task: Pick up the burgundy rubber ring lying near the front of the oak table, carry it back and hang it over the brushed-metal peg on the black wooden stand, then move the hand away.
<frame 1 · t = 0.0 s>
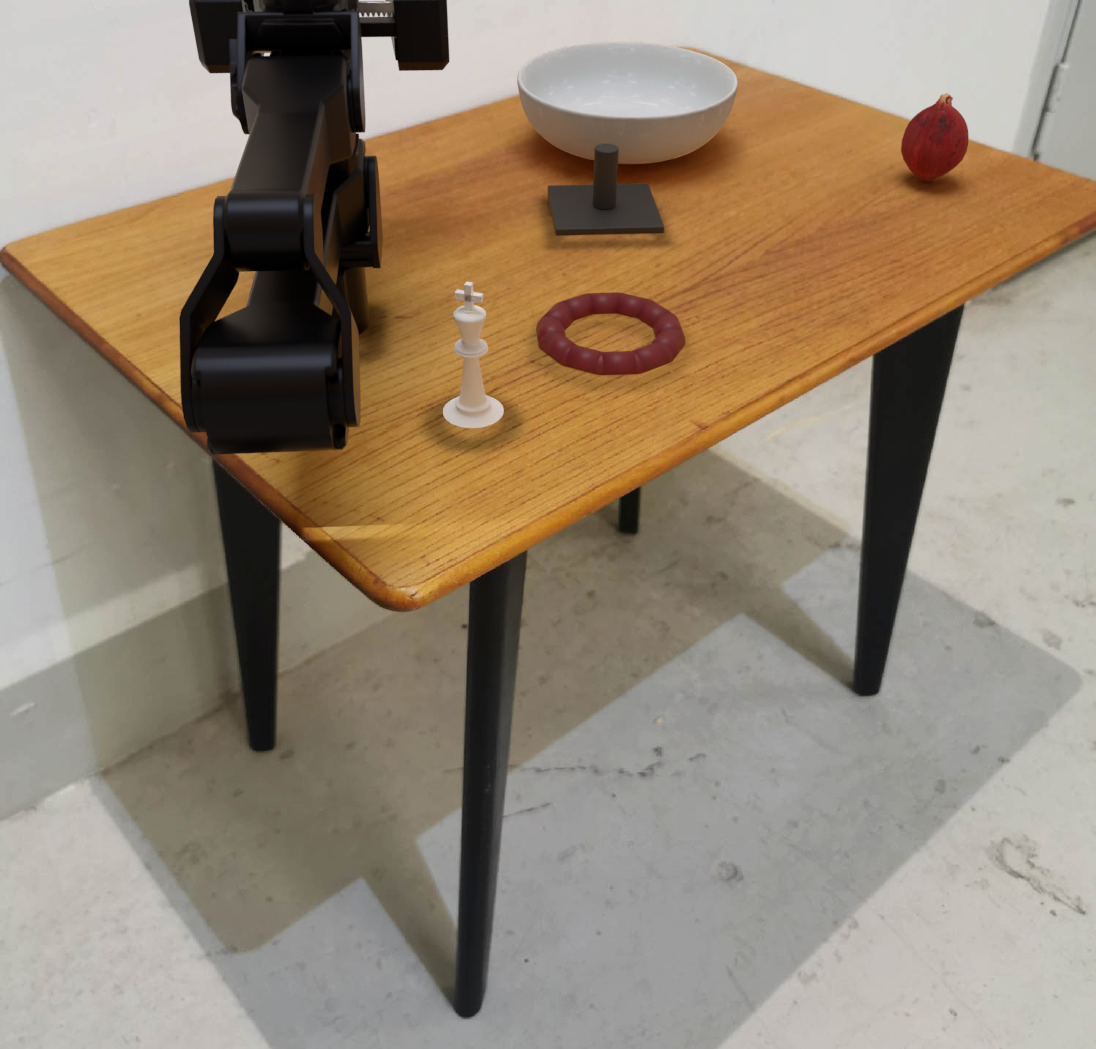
chess piece: (473, 425, 73), on the table
onion: (925, 184, 105), on the table
post: (603, 221, 97), on the table
serving bowl: (623, 148, 110), on the table
ring: (610, 335, 80), point 1 cm above the table
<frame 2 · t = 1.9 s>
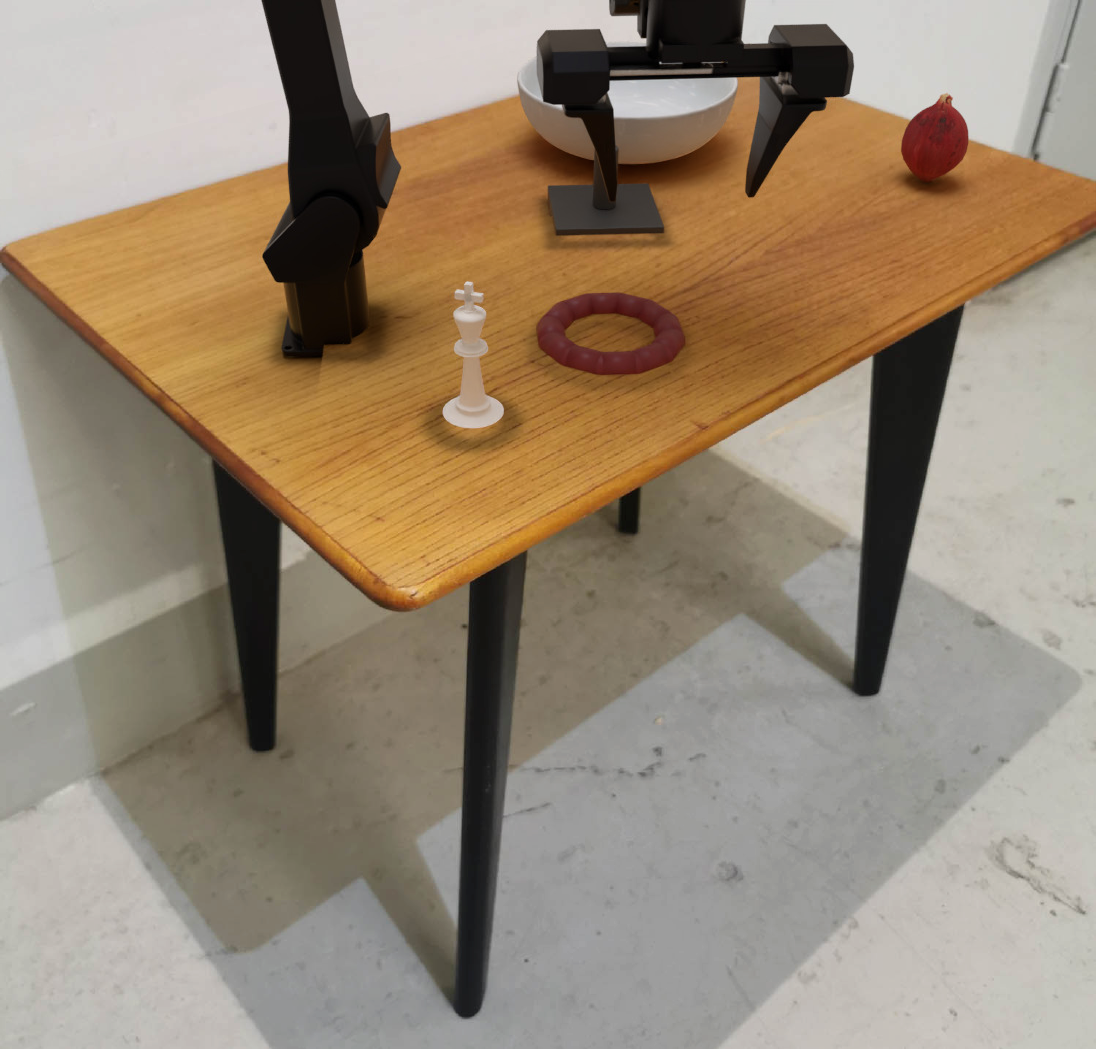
hand: (680, 197, 74), 11 cm above the table, tool pointing down, fingers open, 9 cm apart
nothing on the table moved.
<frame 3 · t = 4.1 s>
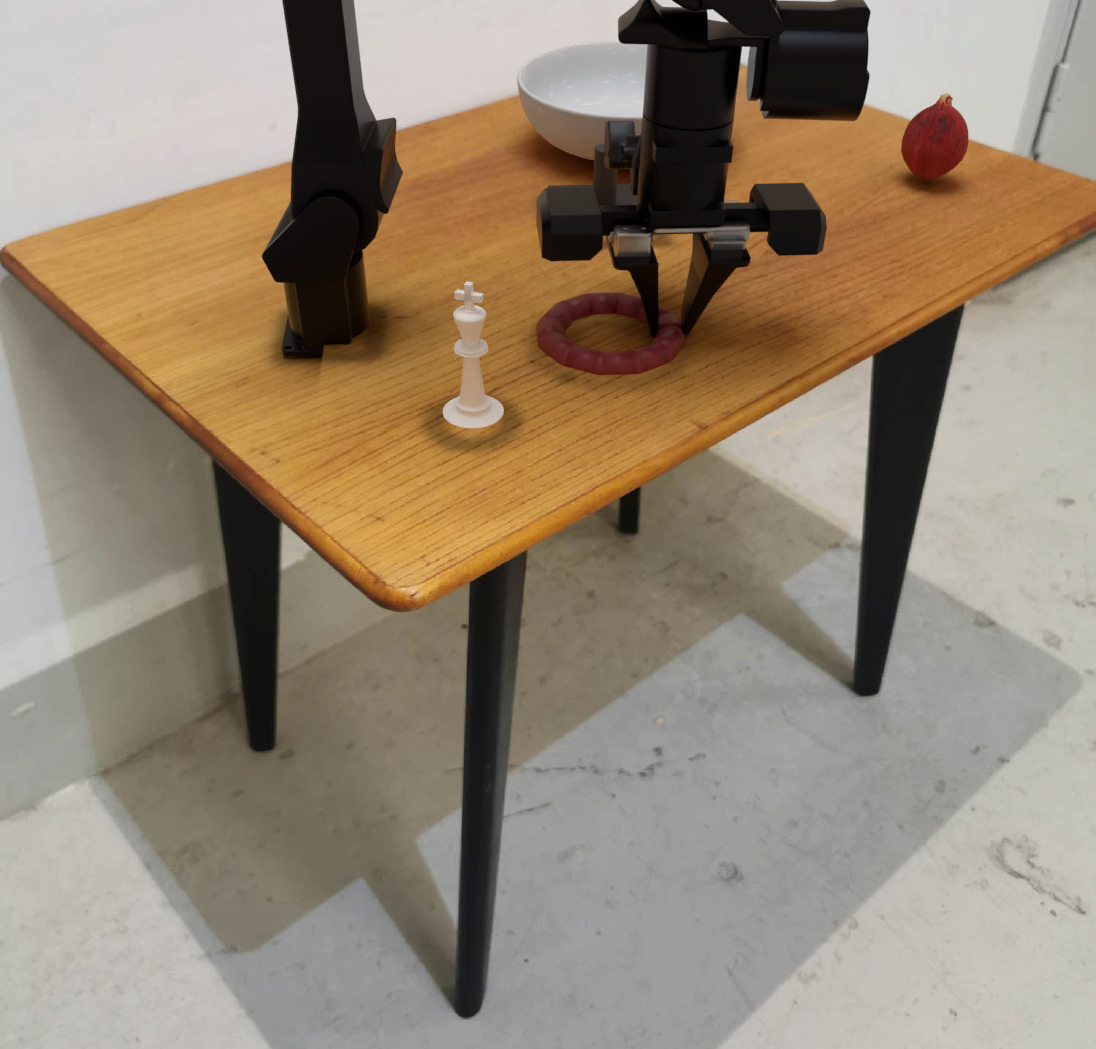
hand: (668, 333, 80), 1 cm above the table, tool pointing down, fingers closed on ring, 2 cm apart
ring: (610, 335, 80), point 1 cm above the table, touching gripper
everything else where it was.
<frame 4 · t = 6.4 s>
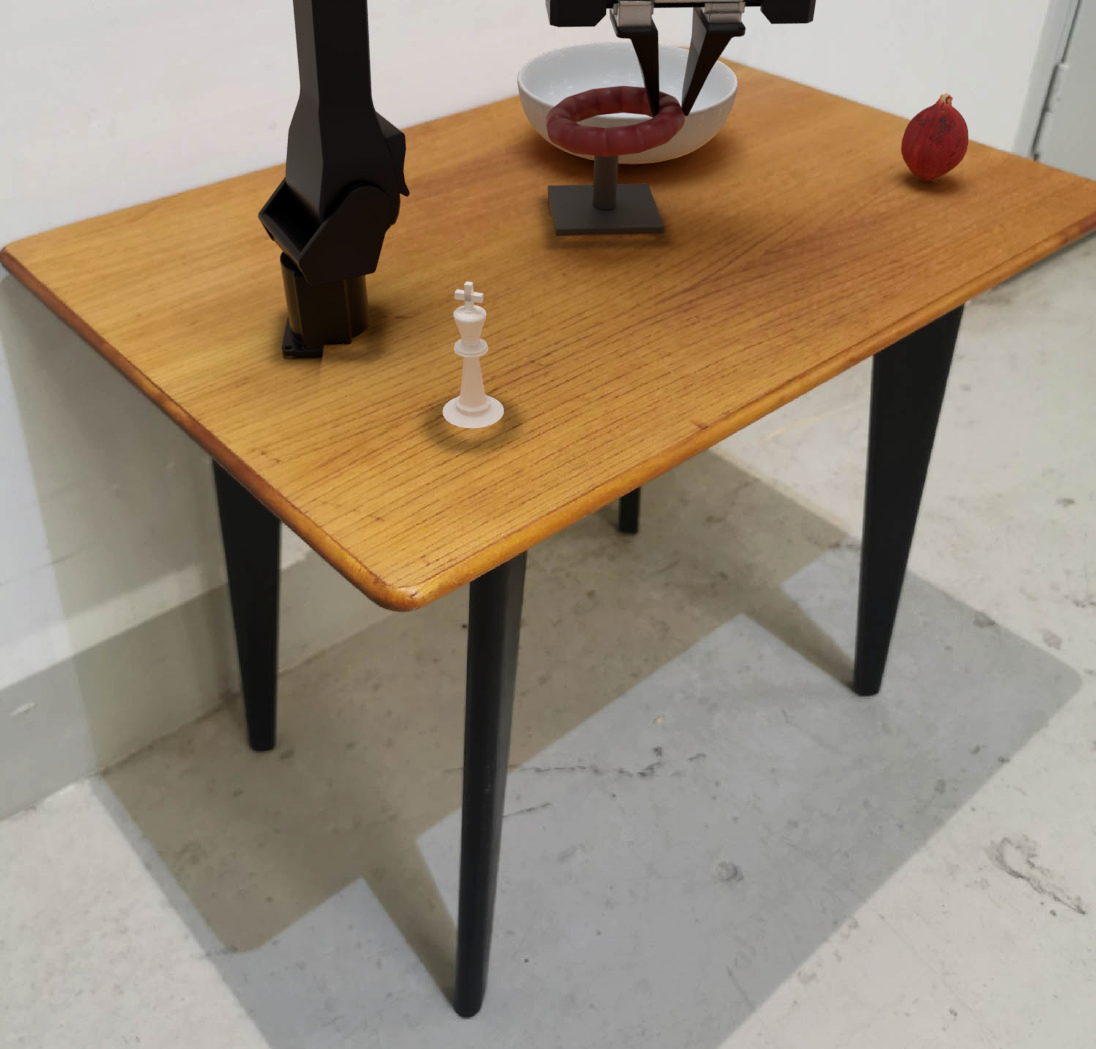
hand: (669, 114, 86), 11 cm above the table, tool pointing down, fingers closed on ring
ring: (614, 120, 86), point 11 cm above the table, tilted 6°, touching gripper
everything else where it was.
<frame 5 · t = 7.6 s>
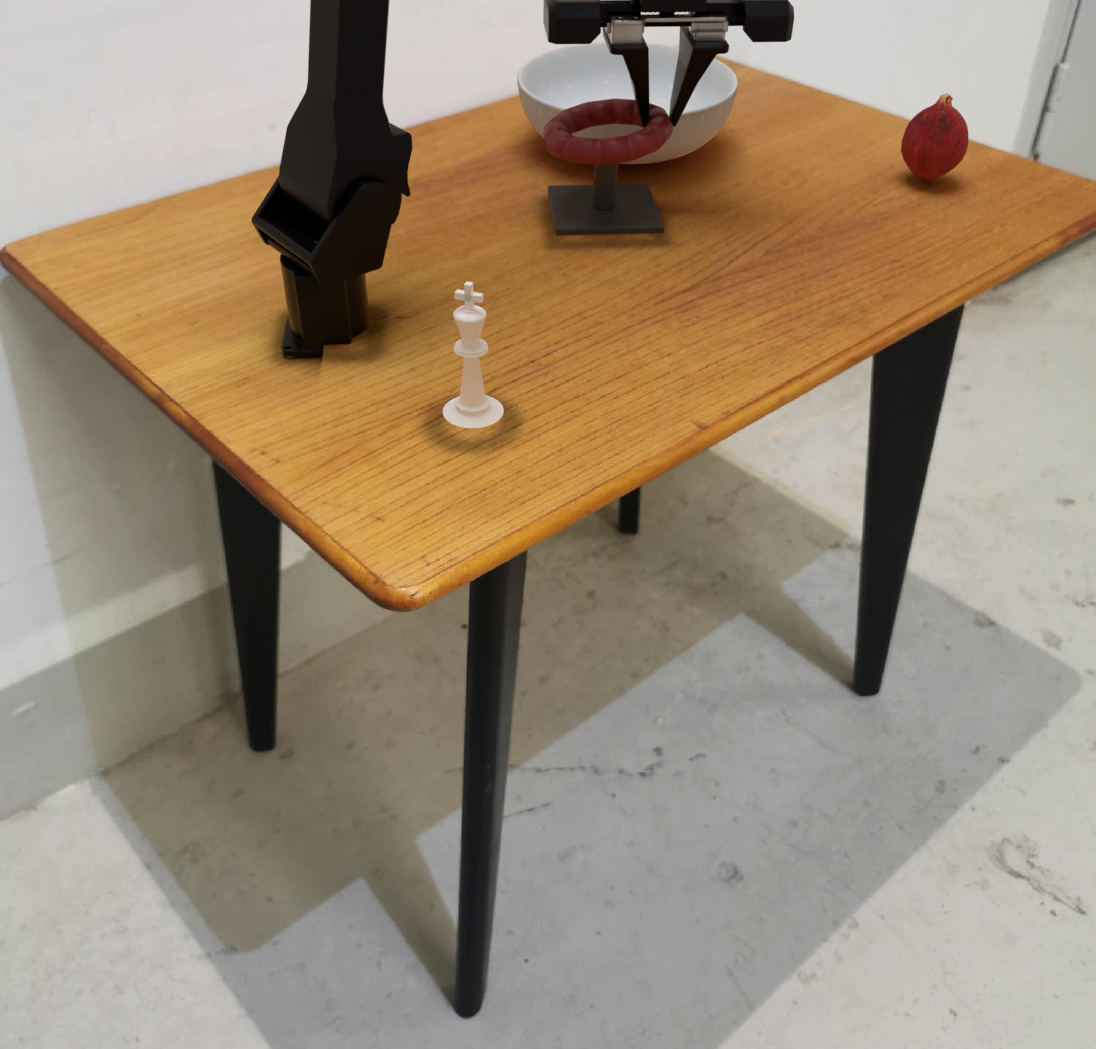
hand: (658, 125, 92), 8 cm above the table, tool pointing down, fingers closed on ring
ring: (607, 130, 92), point 8 cm above the table, tilted 7°, touching gripper
everything else where it was.
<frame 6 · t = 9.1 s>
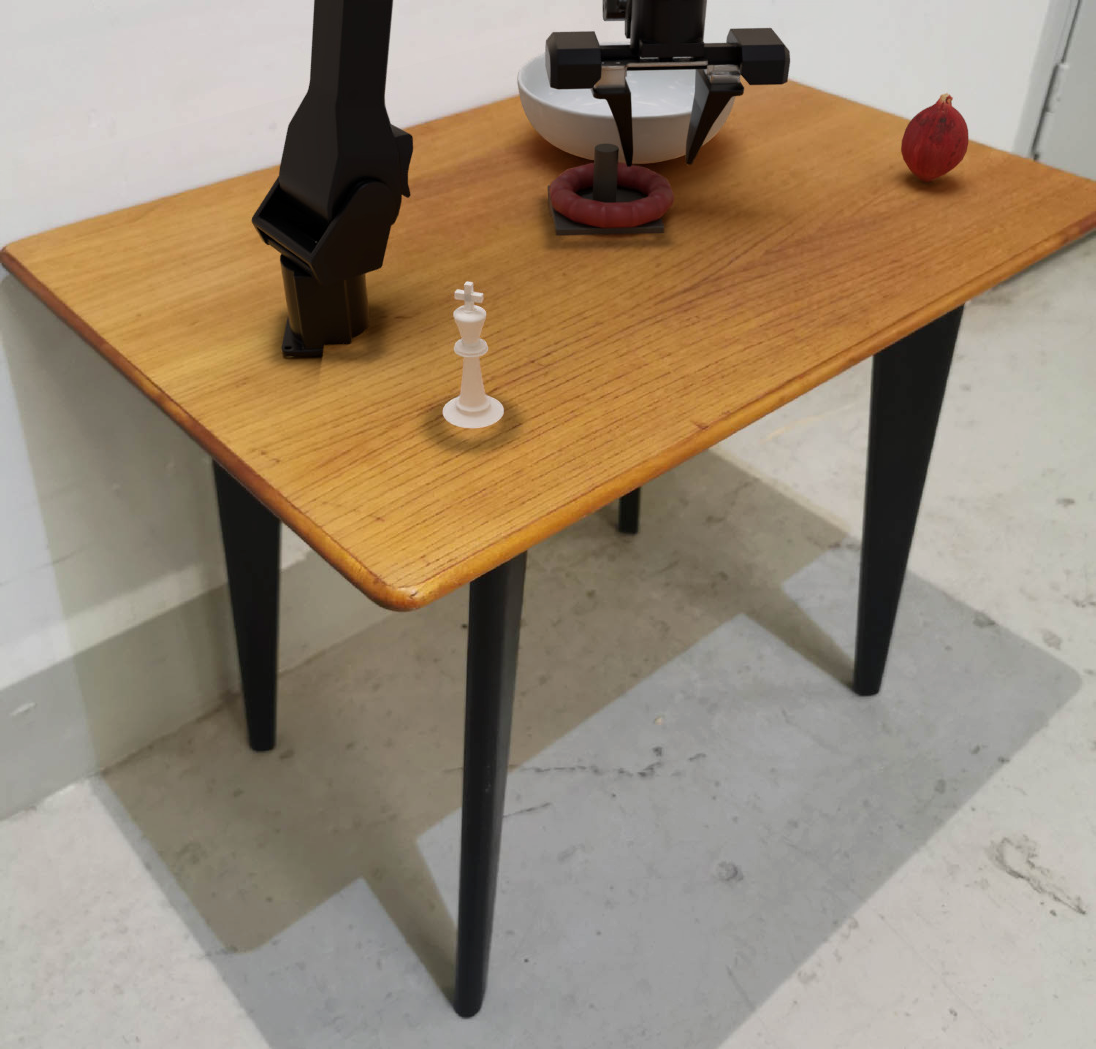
hand: (658, 164, 94), 5 cm above the table, tool pointing down, fingers open, 5 cm apart
ring: (611, 194, 95), point 2 cm above the table, touching post
everything else where it was.
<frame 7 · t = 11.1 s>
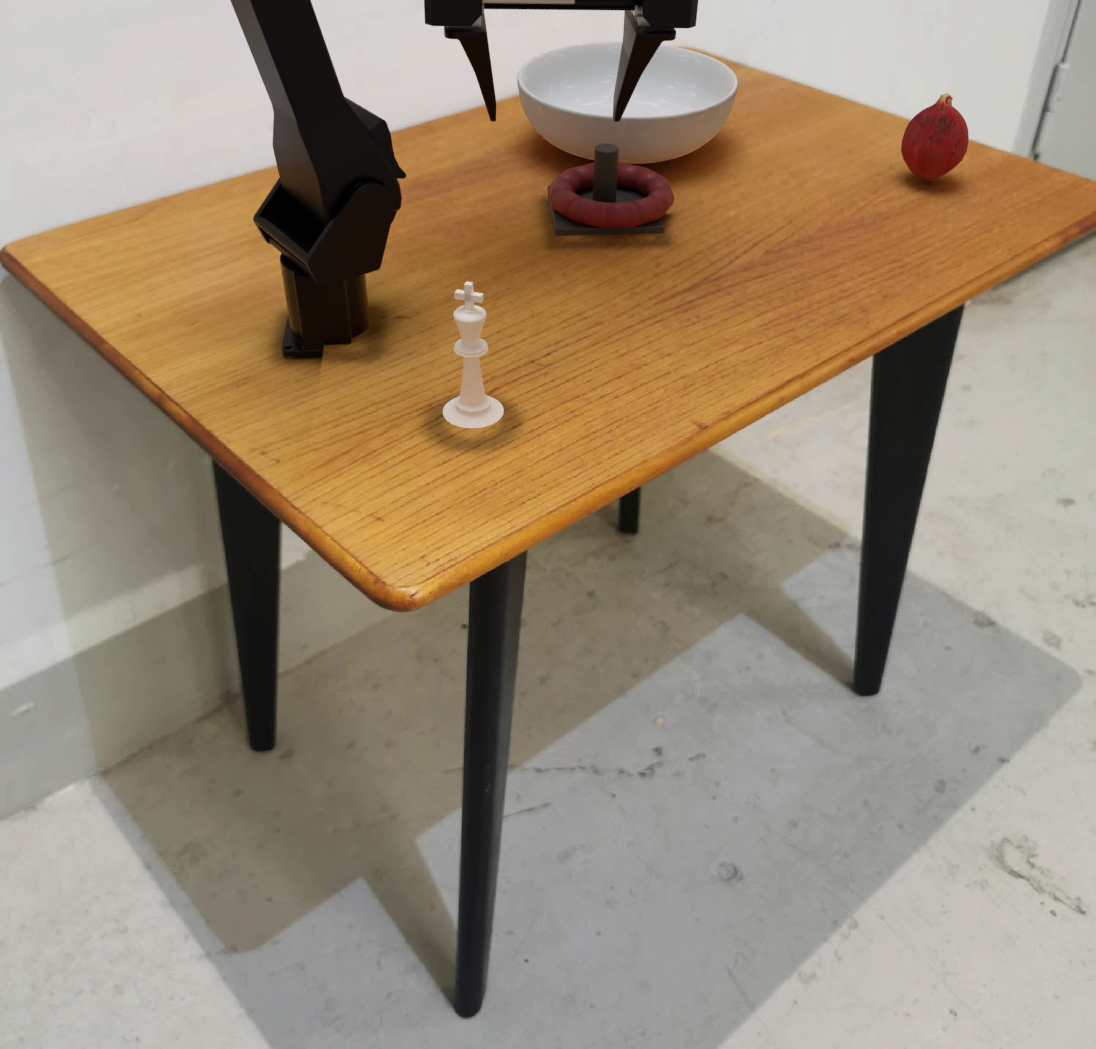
hand: (554, 119, 84), 12 cm above the table, tool pointing down, fingers open, 9 cm apart
nothing on the table moved.
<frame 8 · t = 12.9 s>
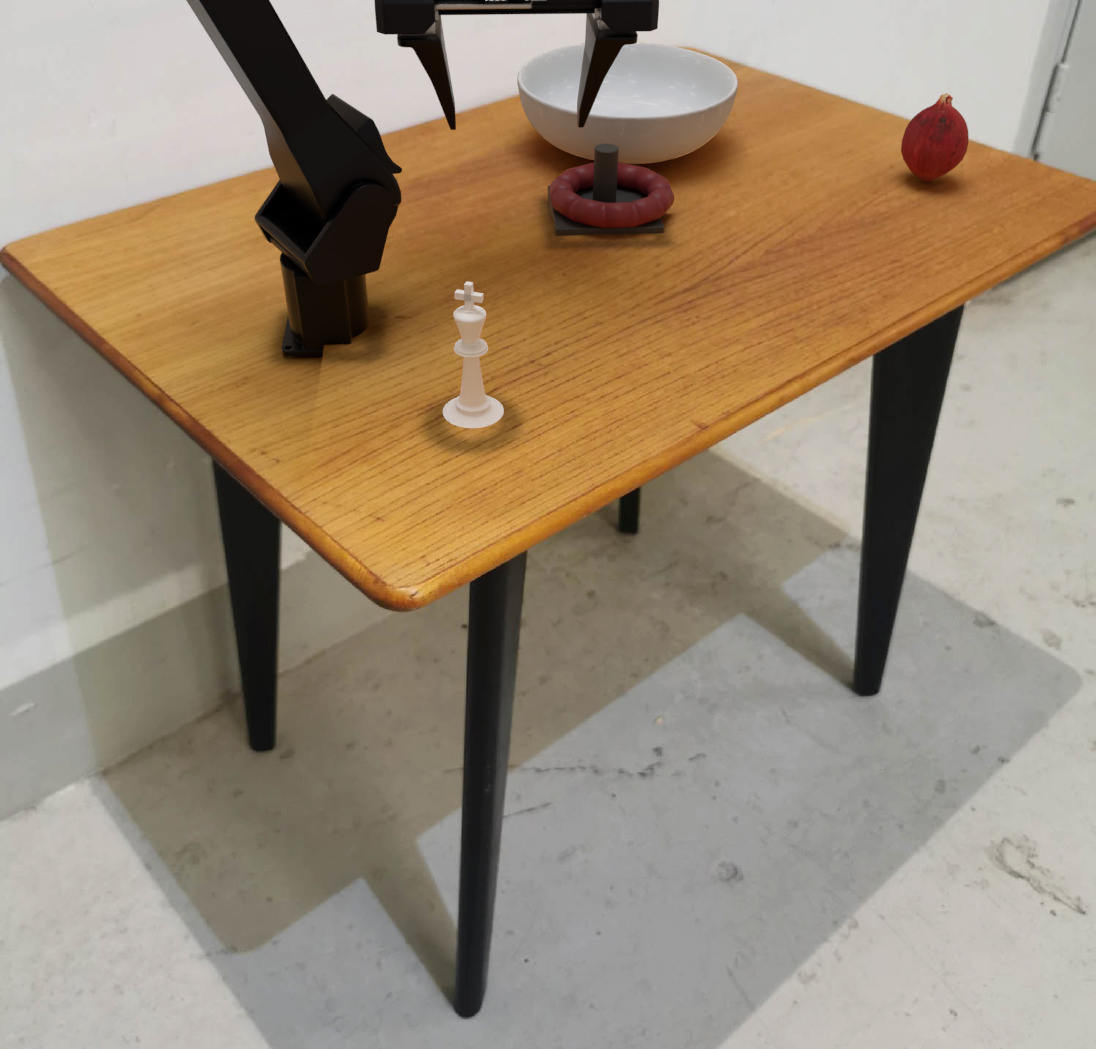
hand: (516, 126, 81), 12 cm above the table, tool pointing down, fingers open, 9 cm apart
nothing on the table moved.
at the end: ring 0.6 cm from the post (horizontally); ring point 2.5 cm above the table; the gripper is holding nothing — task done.
